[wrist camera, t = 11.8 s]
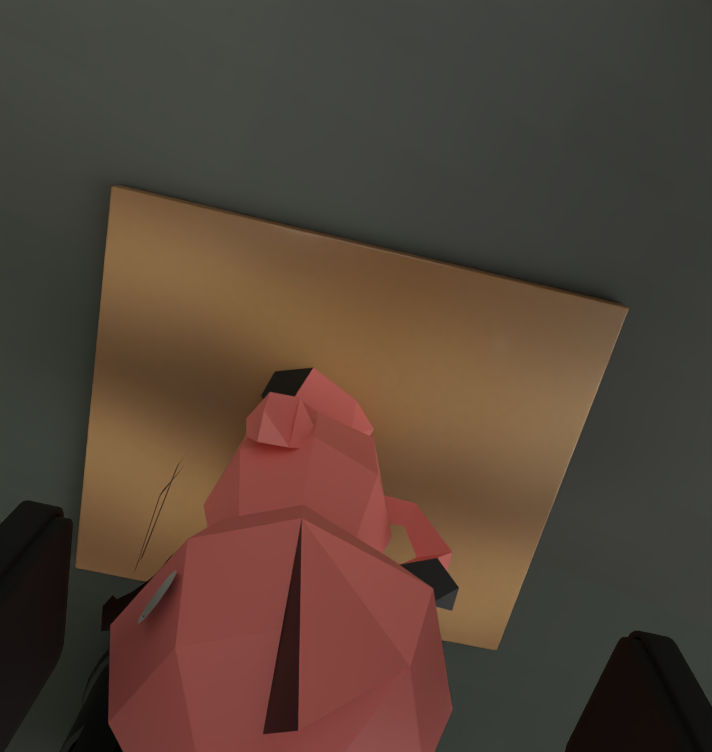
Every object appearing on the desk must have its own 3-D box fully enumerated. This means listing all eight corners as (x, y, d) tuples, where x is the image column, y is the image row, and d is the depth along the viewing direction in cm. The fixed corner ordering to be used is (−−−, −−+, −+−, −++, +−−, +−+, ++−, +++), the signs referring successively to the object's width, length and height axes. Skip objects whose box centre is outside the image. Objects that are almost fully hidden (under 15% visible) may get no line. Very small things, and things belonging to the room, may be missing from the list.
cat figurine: (219, 316, 17) (-48, 632, 6) (464, 362, 18) (641, 740, 6) (192, 534, 20) (-36, 1052, 8) (409, 570, 20) (467, 1116, 9)
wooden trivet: (117, 184, 17) (110, 185, 16) (622, 303, 18) (630, 308, 17) (80, 558, 21) (74, 568, 20) (494, 640, 22) (496, 651, 21)
